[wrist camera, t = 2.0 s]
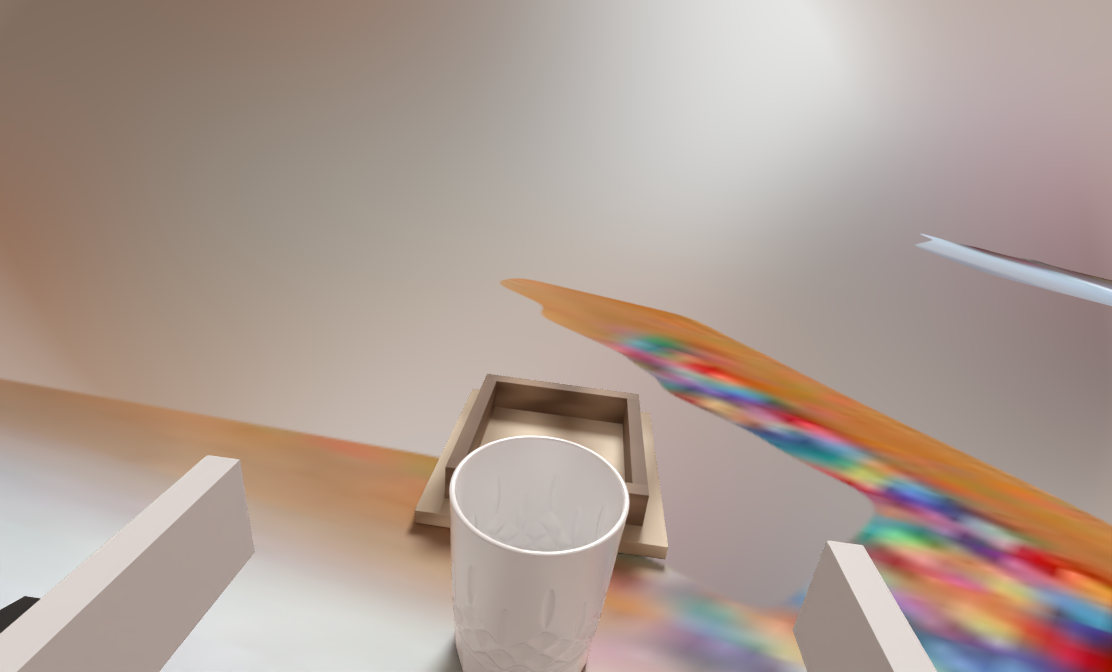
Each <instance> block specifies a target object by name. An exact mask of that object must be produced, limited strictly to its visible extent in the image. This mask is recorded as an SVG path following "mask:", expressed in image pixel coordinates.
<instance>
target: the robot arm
mask: <svg viewBox="0 0 1112 672" xmlns="http://www.w3.org/2000/svg"><path fill="white" fill-rule="evenodd" d="M254 552H255V551H254V545H253V539H252V533H251V526H250V520H249V514H248V507H247V501H246V495H245V489H244V482H243V476H242V470H241V464H240V460H238V459H231V458H224V457H217V456H209V455H207V456H206V457H205V458H203V459H202V460H201V461H200V462H199V463H198V464H197V465H195V466H194V467H193V468H192V469H191V470H190V471H188V472H187V473H186V474H185V475H184V476H183V477H181V478H180V479H179V480H178V481H177V482H176V483H174V484H173V485H172V486H171V487H170V488H169V489H168V490H166V491H165V492H164V493H163V494H162V495H161V496H159V497H158V498H157V499H156V500H155V501H154V502H152V503H151V504H150V505H149V506H148V507H147V508H145V509H144V510H143V511H142V512H141V513H140V514H139V515H137V516H136V517H135V518H134V519H133V520H132V521H130V522H129V523H128V524H127V525H126V526H125V527H123V528H122V529H121V530H120V531H119V532H118V533H116V534H115V535H114V536H113V537H112V538H111V539H110V540H108V541H107V542H106V543H105V544H104V545H103V546H101V547H100V548H99V549H98V550H97V551H96V552H94V553H93V554H92V555H91V556H90V557H89V558H87V559H86V560H85V561H84V562H83V563H82V564H80V565H79V566H78V567H77V568H76V569H75V570H74V571H72V572H71V573H70V574H69V575H68V576H67V577H65V578H64V579H63V580H62V581H61V582H60V583H58V584H57V585H56V586H55V587H54V588H53V589H51V590H50V591H49V592H48V593H47V594H46V595H45V596H43V597H42V598H41V599H40V598H33V597H27V596H24V597H23V598H21V599H19V600H17V601H15V602H14V603H12V604H10V605H8V606H7V607H5V608H3V609H1V610H0V672H159V671H160V670H161V669H162V667H163V666H164V665H165V664H166V662H167V661H168V660H169V659H170V657H171V656H172V655H173V654H174V652H175V651H176V650H177V649H178V647H179V646H180V645H181V644H182V642H183V641H184V640H185V639H186V637H187V636H188V635H189V634H190V632H191V631H192V630H193V629H194V627H195V626H196V625H197V624H198V622H199V621H200V620H201V619H202V617H203V616H204V615H205V614H206V612H207V611H208V610H209V609H210V607H211V606H212V605H213V604H214V602H215V601H216V600H217V599H218V597H219V596H220V595H221V594H222V592H223V591H224V590H225V589H226V587H227V586H228V585H229V584H230V582H231V581H232V580H233V579H234V577H235V576H236V575H237V574H238V572H239V571H240V570H241V569H242V567H243V566H244V565H245V564H246V562H247V561H248V560H249V559H250V557H251V556H252V555H253V554H254ZM793 632H794V635H795V638H796V641H797V644H798V646H799V649H800V652H801V655H802V658H803V660H804V663H805V666H806V669H807V672H937V671H936V669H935V667H934V666H933V664H932V662H931V661H930V659H929V657H928V655H927V654H926V652H925V650H924V649H923V647H922V645H921V644H920V642H919V640H918V638H917V637H916V635H915V633H914V632H913V630H912V628H911V627H910V625H909V623H908V621H907V620H906V618H905V616H904V615H903V613H902V611H901V609H900V608H899V606H898V604H897V603H896V601H895V599H894V598H893V596H892V594H891V592H890V591H889V589H888V587H887V586H886V584H885V582H884V581H883V579H882V577H881V575H880V574H879V572H878V570H877V569H876V567H875V565H874V564H873V562H872V560H871V558H870V557H869V555H868V553H867V552H866V550H865V548H864V547H863V545H856V544H849V543H842V542H834V541H827V542H826V544H825V547H824V549H823V552H822V554H821V557H820V560H819V562H818V565H817V568H816V570H815V573H814V575H813V578H812V581H811V583H810V586H809V589H808V591H807V594H806V596H805V599H804V602H803V604H802V607H801V610H800V612H799V615H798V617H797V620H796V623H795V625H794V628H793Z"/></svg>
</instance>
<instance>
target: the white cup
mask: <svg viewBox="0 0 1112 672" xmlns="http://www.w3.org/2000/svg"><path fill="white" fill-rule="evenodd" d="M449 501H450V542H451V579H452V590H453V597H452V598H453V610H454V618H455V641H456V649H457V652H458V656H459V660H460V663H461V667H462V671H463V672H581V671H582V669H583V667H584V666H585V664H586V662H587V659H588V656H589V652H590V647H591V643H592V639H593V637H594V634H595V632H596V629H597V626H598V623H599V620H600V617H601V613H602V608H603V605H604V602H605V599H606V595H607V592H608V589H609V585H610V581H611V577H612V573H613V569H614V565H615V561H616V557H617V553H618V549H619V546H620V542H621V538H622V534H623V530H624V526H625V523H626V519H627V515H628V511H629V493H628V489H627V487H626V484H625V482H624V480H623V478H622V477H621V475H620V474H619V473H618V471H617V470H616V469H615V468H614V467H613V466H612V465H611V464H610V463H609V462H608V461H607V460H606V459H604V458H603V457H602V456H600V455H599V454H597V453H595V452H594V451H592V450H590V449H588V448H586V447H584V446H581V445H579V444H576V443H574V442H570V441H567V440H563V439H559V438H554V437H547V436H531V435H530V436H515V437H508V438H503V439H499V440H496V441H493V442H490V443H487V444H485V445H483V446H481V447H479V448H477V449H476V450H474V451H472V452H471V453H470V454H468V455H467V456H466V457H465V458H464V459H463V460H462V461H461V462H460V463H459V464H458V466H457V467H456V469H455V471H454V473H453V475H452V477H451V481H450V486H449Z"/></svg>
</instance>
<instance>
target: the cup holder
mask: <svg viewBox="0 0 1112 672" xmlns="http://www.w3.org/2000/svg"><path fill="white" fill-rule="evenodd" d="M530 435H531V436H547V437H554V438H559V439H563V440H567V441H570V442H574V443H576V444H579V445H581V446H584V447H586V448H588V449H590V450H592V451H594V452H595V453H597V454H599V455H600V456H602V457H603V458H604V459H606V460H607V461H608V462H609V463H610V464H611V465H612V466H613V467H614V468H615V469H616V470H617V471H618V473H619V474H620V475H621V477H622V478H623V480H624V482H625V484H626V487H627V489H628V493H629V511H628V515H627V519H626V523H625V526H624V530H623V534H622V538H621V542H620V546H619V549H618V553H625V554H632V555H639V556H646V557H652V558H659V559H665V558H666V554H667V550H668V543H667V535H666V529H665V521H664V513H663V506H662V499H661V491H660V484H659V476H658V469H657V462H656V455H655V447H654V440H653V432H652V425H651V418H650V413H648V412H641V411H640V404H639V395H638V394H632V393H625V392H617V391H610V390H603V389H595V388H588V387H580V386H572V385H565V384H558V383H551V382H543V381H535V380H528V379H521V378H513V377H505V376H498V375H491V374H487V376H486V378H485V380H484V383H483V385H482V387H481V389H480V390H478V389H473V390H472V392H471V394H470V396H469V398H468V400H467V402H466V404H465V406H464V408H463V410H462V413H461V415H460V417H459V419H458V421H457V423H456V425H455V427H454V429H453V431H452V434H451V435H450V438H449V440H448V442H447V444H446V446H445V448H444V450H443V452H442V455H441V456H440V458H439V461H438V463H437V465H436V467H435V469H434V471H433V473H432V475H431V477H430V479H429V481H428V484H427V486H426V488H425V490H424V492H423V494H422V496H421V498H420V500H419V502H418V504H417V507H416V509H415V523H420V524H427V525H434V526H441V527H448V528H450V501H449V486H450V481H451V477H452V475H453V473H454V471H455V469H456V467H457V466H458V464H459V463H460V462H461V461H462V460H463V459H464V458H465V457H466V456H467V455H468V454H470V453H471V452H472V451H474V450H476V449H477V448H479V447H481V446H483V445H485V444H487V443H490V442H493V441H496V440H499V439H503V438H508V437H515V436H530Z"/></svg>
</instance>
